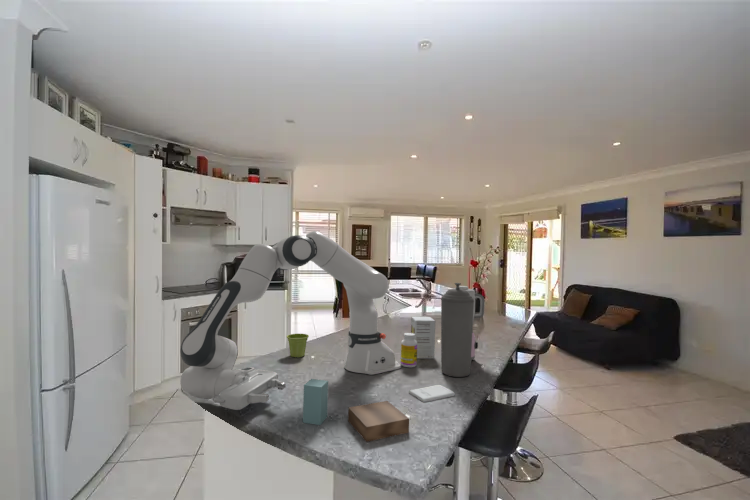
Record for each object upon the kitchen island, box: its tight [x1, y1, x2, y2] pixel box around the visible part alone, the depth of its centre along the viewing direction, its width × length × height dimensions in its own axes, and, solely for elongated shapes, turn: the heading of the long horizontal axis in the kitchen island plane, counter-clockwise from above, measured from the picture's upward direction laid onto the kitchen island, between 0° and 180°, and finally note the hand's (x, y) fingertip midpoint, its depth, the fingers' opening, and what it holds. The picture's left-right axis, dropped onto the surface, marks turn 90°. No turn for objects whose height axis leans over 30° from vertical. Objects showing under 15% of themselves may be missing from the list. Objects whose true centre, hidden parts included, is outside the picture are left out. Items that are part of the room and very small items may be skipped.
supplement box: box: [410, 316, 436, 359], centre depth 164 cm, size 10×9×17 cm
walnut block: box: [347, 400, 410, 443], centre depth 96 cm, size 12×12×4 cm
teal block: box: [302, 378, 329, 426], centre depth 99 cm, size 5×5×10 cm
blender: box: [447, 285, 485, 361], centre depth 159 cm, size 16×12×32 cm
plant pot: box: [286, 333, 309, 358], centre depth 158 cm, size 9×9×9 cm
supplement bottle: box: [400, 332, 418, 368], centre depth 149 cm, size 7×7×13 cm
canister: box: [440, 282, 474, 378], centre depth 141 cm, size 13×13×35 cm
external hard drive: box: [408, 384, 456, 403], centre depth 119 cm, size 2×8×12 cm
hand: (276, 392), depth 102 cm, fingers open, 8 cm apart
